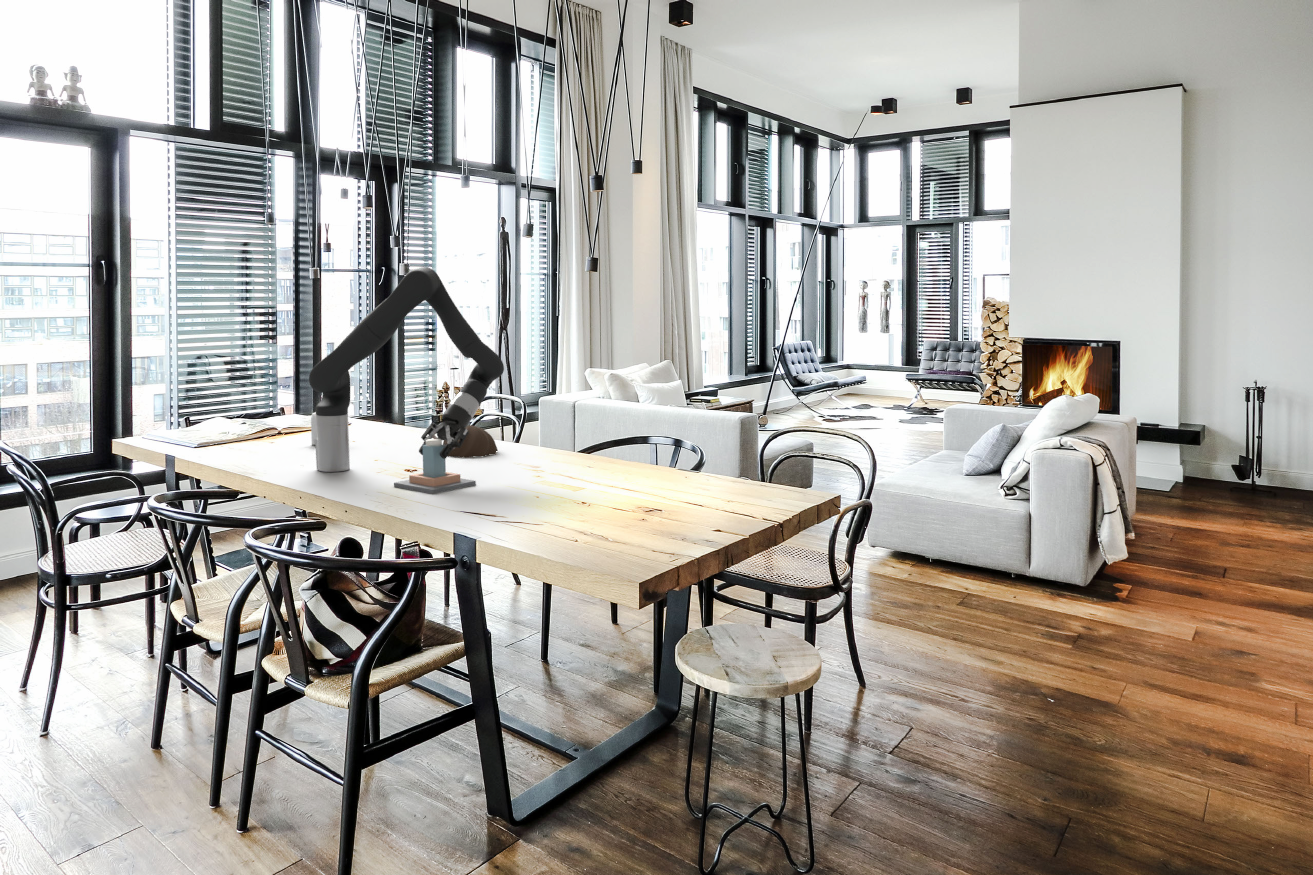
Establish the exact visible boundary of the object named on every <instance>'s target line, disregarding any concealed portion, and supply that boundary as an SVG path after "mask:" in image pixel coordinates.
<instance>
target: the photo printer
mask: <svg viewBox="0 0 1313 875" xmlns="http://www.w3.org/2000/svg"><path fill="white" fill-rule="evenodd" d="M310 425H311V426H310V428H311V445H312V446H316V442H315V440H316V439H317V424H316V411H315V412H312V413H311V418H310Z"/></svg>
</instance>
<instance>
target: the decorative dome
mask: <svg viewBox="0 0 1313 875" xmlns="http://www.w3.org/2000/svg"><path fill="white" fill-rule="evenodd" d="M466 429H467V430H468V432H469V434H468V435H467V437H466V439H465V440H464V442H463V444H462V445H461V447H460V448H457V447H455V448H454V449H452V451H451V452H450V454H449V455H448V456H447V457H449V456H453V458H454V457H455V458H456V457H457V458H462V457H465V458H474V457H473V456H484V457H486V456H485V455H487V456H490V455H489V454H495V455H496V454H497V452H496V451H498V452H499V450H498V447H497V444H496V442H495V439H494V438H493V436H492V435H491V434H490V433H489V432H488V431H487V430H485V429H483V428H482V427H478V426H475V425H470V424H468V425H467V427H466ZM459 441H460V439H459V440H458V442H459ZM446 444H447V441H446V440H443V441H442V445H446Z"/></svg>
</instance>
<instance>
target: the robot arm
mask: <svg viewBox="0 0 1313 875" xmlns="http://www.w3.org/2000/svg"><path fill="white" fill-rule="evenodd" d="M423 302H427V304H428V305H429V306H430V307H431V308H432V309H433V310H434V311H435V313H436V314H437V315H438V317H439V320H440V322H441V323H442V326H443V328H444V330H445V331H446V332H445V333H446V334H447V336H448V337H449V339H450V341H451V342H452V343H453V345H455V347H456V349H458V351H459V352H460V353H461V354H462V356H463V357H464V358H466V359H472V360H473V361H474V362H475V363H476V365H475V366H474V367H473V369H472V370H471V372H470V374H469V376H468V378H467V380H466V382H465V383H464V385H463V386H462V387H461V389H460V391H459V392H458V393H457V394H456V396H455V397H454V398H453V399H452V401H451V402H450V403H449V405H448V407H446V409H445V411H444V412H443V414H442V416H441V422H440V423H439V424H436V423H435V422H431V423H430V424H429V425H428V427H427V428H426V429H425V431H424V432H423V434H422V435H421V437H420V438H421V439H422V441H423V442H422V445H421V446H420V447H419V449H418V453H419V454H421V456H423V445H426V440H427V439H441V440H442V441H444V440H446V441H447V444H446V445H445V446H444V448H443V449H442V451H441V452H440V456H441V457H442V458H443V459H445V460H446V459H447V458H448V457H449V456H448V455H449V454H450V452H451V451H452V449H454V448H455V447H457V448H460V447H461V445H462V444H463V442H464V440H465V439H466V437H467V435H468V434H469V432H468V430H467V429H466V427H467V426H468V425H470V422H471V421H472V419H473V418H474V416H475V415H476V413H477V412H478V410H479V407H480V405H481V404H482V402H483V401H484V399H485V397H486V396H487V394H488V389H489V387H490V385H492V383H493V382H494V381H495V380H497V379H498V378H500V377H501V376H502V375H503V373H504V371H505V366H504V362H503V361H502V359H501V357H500V356H499V354H497V353H496V352H495V351H494V350H492V348H490V346H488V345H486V343H484V342H483V341H482V340H481V338H480V337H479V335H478V334H477V332H475V331H474V328H472V326H470V324H469V323H468V322H467V320H466V318H464V316H463V315H462V313H461V311H460V310H459V309H458V307H457V306H456V304H455V302H454V301H453V299H452V297H451V296H450V294H449V293H448V291H447V289H446V287H445V285H444V284H443V282H442V280H441V278H440V277H439V275H438V273H437V272H436V271H435V270H434V269H432V268H431V267H428V266H422V267H421V266H420V267H417V268H414V269H411V270H409V272H407V273H406V274H405V275H404V277H403V278H402V279H401V280H400V281H399V283H398V284H397V286H396V287H395V288H394V289H393V291H392V292H391V293H390V295H389V296H388V297H387V298H385V299H384V300H383V301H382V302H381V303H380V304H378V305H377V306H376V307H375V308H374V309H373V310H371V312H370V313H368V314H367V315H366V316H365V317H364V318H363V319H362V320H361V321H360V322H359V323H358V324H357V325H356V326H355V328H354V329H353V330H352V331H351V332H350V333H349V334H348V335H346V337H345V338H344V339H343V341H341V342H340V343H339V345H338V346H336V348H335V349H334V350H332V352H330V353H329V354H328V355H326V356H325V357H324V358H323V359H322V360H320V361H319V362H318V363H316V364H315V365H314V366H313V368H312V369H311V370H310V372H309V376H308V382H309V385H310V388H311V389H312V390H313V391H315V392H317V393H321V394H322V397H321V400H320V401H319V402H318V404H316V406H315V412H316V424H317V439H316V440H315V442H316V445H315V460H316V464H315V465H316V470H318V471H319V472H323V473H325V472H326V473H329V472H331V473H332V472H333V473H335V472H338V473H339V472H344V471H348V470H350V469H351V467H350V466H351V464H350V463H351V462H350V439H349V438H350V436H349V434H350V433H349V431H350V430H349V408H350V407H349V406H350V404H351V375H350V370H351V368H352V367H354V366H355V365H357V364H358V363H360V362H362V361H363V360H365V359H367V358H368V357H370V356H372V355H373V354H374V353H375V352H377V351H378V350H380V349H381V348H382V347H383V346H384V345H385V344H386V343H387V342H388V341H389V340H390V339H391V337H393V336H394V335H395V333H396V332H397V330H398V329H399V327H400V325H401V324H402V322H403V320H404V319H405V318H406V317H407V316H408V315H409V313H410V312H412V311H413V310H414V309H415V308H417V307H418V306H419V305H420V304H421V303H423ZM436 435H437V436H436ZM459 439H460V441H459V442H458V440H459Z"/></svg>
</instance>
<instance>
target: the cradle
mask: <svg viewBox="0 0 1313 875" xmlns="http://www.w3.org/2000/svg"><path fill="white" fill-rule="evenodd" d="M408 477H409V478H408V479H406V480H400V481H396V482H393V487H394V488H398V489H403V488H404V490H408V489H409V491H415V492H420V493H427V494H430V495H435V494H439V493H444V492H449V491H454V490H459V489H463V488H467V487H472V486H476V484H477V483H476V480H474V479H473V480H472V479H466V478H461V474H460V473H453V472H448V471H446V476H442V477H437V478H430V477H425V476H423V472H420V473H415V474H410V475H408Z"/></svg>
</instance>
